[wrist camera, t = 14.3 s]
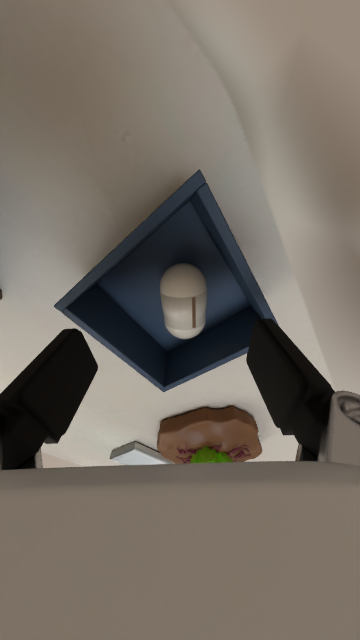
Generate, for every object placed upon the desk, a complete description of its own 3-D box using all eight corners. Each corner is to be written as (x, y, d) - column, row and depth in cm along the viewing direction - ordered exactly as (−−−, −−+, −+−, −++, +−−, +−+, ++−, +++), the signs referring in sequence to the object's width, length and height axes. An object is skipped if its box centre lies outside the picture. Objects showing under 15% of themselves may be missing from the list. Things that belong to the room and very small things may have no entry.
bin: (90, 280, 16) (52, 306, 12) (192, 187, 12) (199, 168, 8) (167, 353, 21) (163, 392, 17) (256, 303, 18) (283, 335, 13)
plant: (141, 418, 30) (123, 512, 20) (250, 398, 27) (289, 499, 17) (177, 459, 40) (176, 535, 30) (260, 448, 37) (288, 530, 27)
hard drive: (108, 459, 36) (149, 475, 41) (134, 449, 33) (174, 467, 38) (111, 450, 37) (150, 466, 42) (135, 440, 35) (174, 458, 40)
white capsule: (151, 262, 14) (165, 274, 11) (193, 256, 15) (218, 264, 12) (161, 329, 18) (173, 353, 14) (194, 320, 19) (213, 340, 16)
